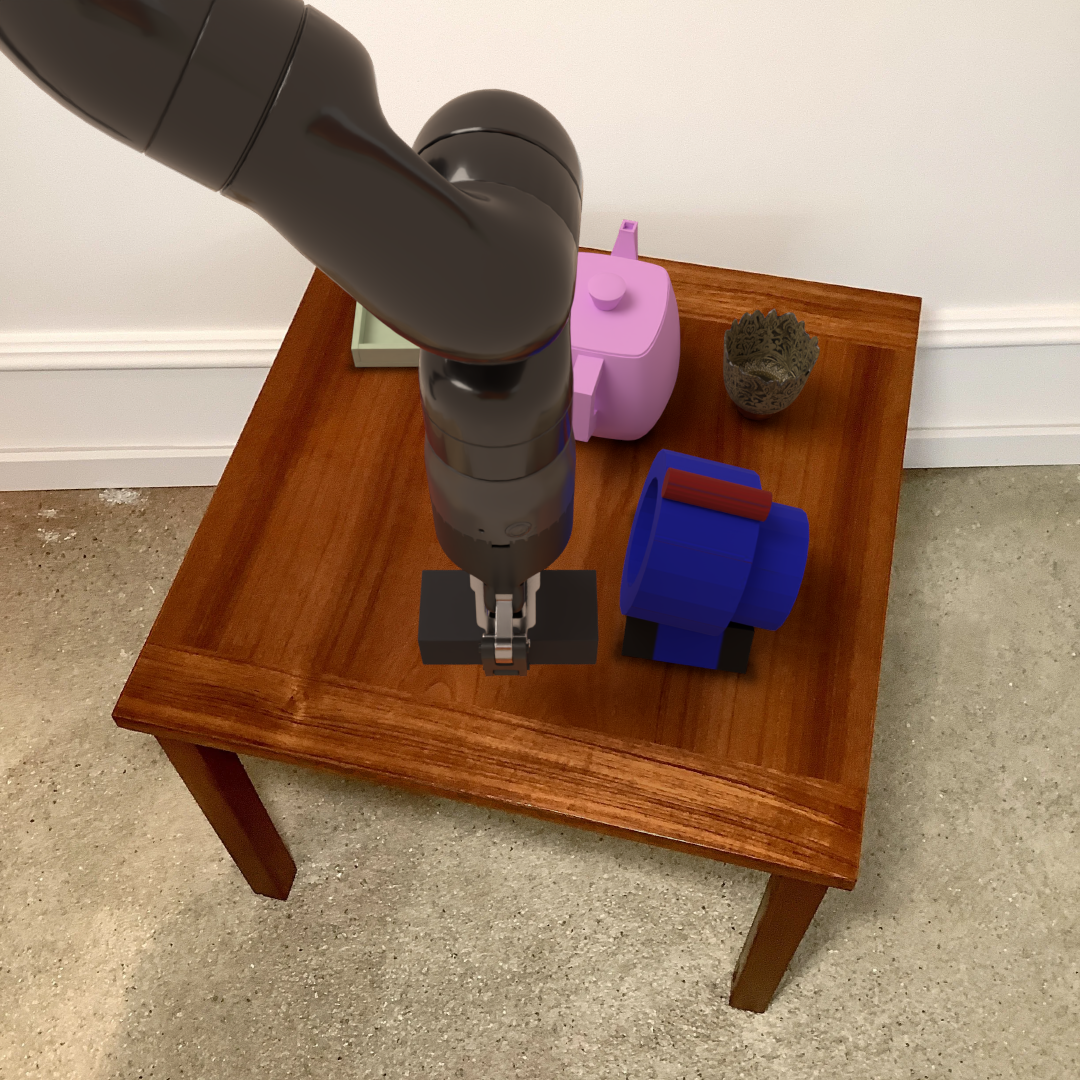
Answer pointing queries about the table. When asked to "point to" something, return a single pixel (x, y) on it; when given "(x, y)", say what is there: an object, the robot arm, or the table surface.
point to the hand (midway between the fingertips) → (509, 627)
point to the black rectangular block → (553, 639)
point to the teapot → (622, 341)
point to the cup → (767, 362)
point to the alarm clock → (708, 564)
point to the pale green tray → (380, 344)
